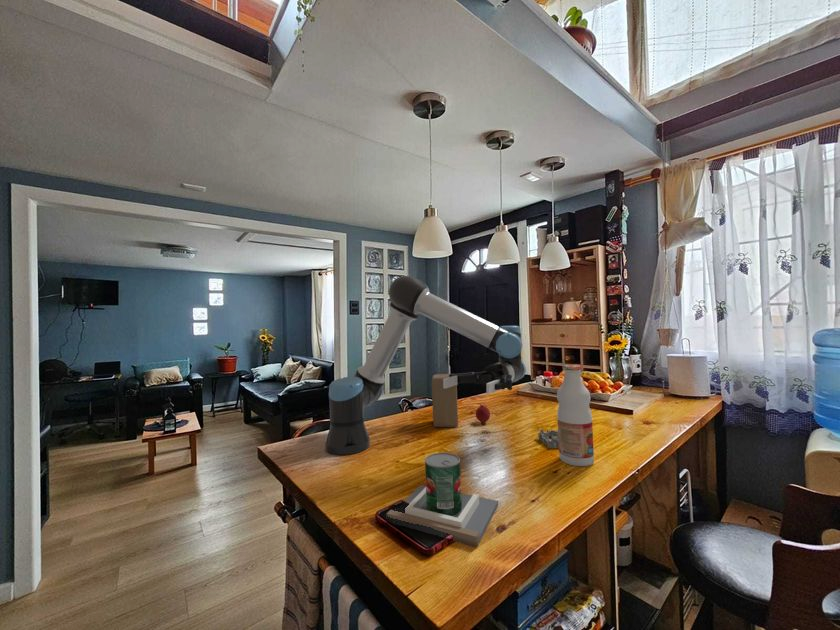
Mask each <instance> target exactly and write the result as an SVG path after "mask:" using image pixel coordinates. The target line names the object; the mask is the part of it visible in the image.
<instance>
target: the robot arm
mask: <svg viewBox="0 0 840 630" xmlns="http://www.w3.org/2000/svg"><path fill="white" fill-rule="evenodd" d="M388 296H389V300H390V303H389V309H390V312H389V315H388V317H387V319H386V321H385V323H384V325H383V327H382V328H381V331H380V333H379V334H378V337H377V338H376V340H375V342H374V344H373V346H372V348H371V350H370V353H369V354H368V357H367V359H366V360H365V362H364V365H362V366H359V367H358V368H357V370H356V372H355V374H354V376H345V377H342V378H337V379H335V380H333V381H331V383H330V384H329V386H328V400H329V422H330V423H329V430H328V434H327V437H326V440H325V451H326V452H327V453H328V454H331V455H335V456H337V455H338V456H339V455H340V456H346V455H352V454H353V455H354V454H357V453H361V452H364V451H365V450H367V449H368V448H369V447H370V446H371V440H370V439H371V438H370V436H369V434H368V430H367V428H366V425H365V414H364V413H365V409H366V408H367V407H370V406H372V405H374V404H375V403H376V402H378V400H379V399H380V398H381V397H382V393H383V390H384V388H383V387H384V384H385V382H386V378H385V374H386V372H387V370H388V367H389V366H390V364H391V362H392V361H393V358H394V356H395V354H396V352H397V350H398V348H399V346H400V345H401V342H402V341H403V339H404V337H405V335H406V333H407V331H408V329H409V327H410V325H411V323H412V322H415V321H417V320H418V318H419V316H420V315H423V316H424V317H426V318H429V320H432V321H434V322H436V323H438V324H441V325H442V326H444V327H446V328H448V329H451V330H452V331H454V332H456V333H458V334H460V335H461V336H464V337H466V338H468V339H470V340H472V341H473V342H475V343H477V344H480V345H482V346H484V347H485V348H488V349H490V350H491V351H493V352H496V353H497V354H498V362H496V363H493V364H489V365H488V366H486V367H485V369H483V371H482V370H481V371H479V372H478V371H477V372H475V371H471V372H462V373H448V374H449V377H448V378H444V379H443V388H445V389H446V388H449V387H452V386H456V385H457V386H458V385H459V384H475V385H485V386H486V390H485V391H486V394H487V395H491V394H493V393H496V392H498V391H500V390H502V391H503V390H505V389H507V390H508V391H512V390H513V383H515V382H518V381H520V380H522V378H524V376H525V375H526V371H527V369H526V368H527V367H526V365H525V363H524V362H523V361H522V360H523V359H522V349H523V342H522V333H521V331H522V330H521V327H520V326H519V325H501V326H498V325H497V324H495V323H493V322H491V321H488V320H486V319H484V318H482V317H480V316H478V315H475V314H474V313H472V312H469V311H468V310H466V309H464V308H462V307H459V306H458V305H456V304H454V303H451V302H449V301H448V300H445V299H443V298H441V297H439V296H437V295H435V294H433V293H431V292H430V288H429V287H428V286H427V284H426V283H425V282H424V281H422V280H421V279H418V278H414V277H412V276H410V275H402V276H398V277H396V278H395V279H394V280H392V282H391V283H390V285H389V289H388Z"/></svg>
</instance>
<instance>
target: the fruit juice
mask: <svg viewBox="0 0 840 630" xmlns="http://www.w3.org/2000/svg"><path fill="white" fill-rule="evenodd" d="M562 370H563V372H564V377H563V381H562V384H561V385H560V386H559V388H557V393H556V399H557V401H558V407H557V412H556V413H557V416H556V417H557V418H556V420H557V430H558V440H559V447H558V454H559V455H558V456H559V459H560V461H562V462H563V463H565V464H567V465H570V466H573V467H588V466H591V465H593V464H594V462H595V461H594V460H595V453H594V451H595V450H594V449H595V448H594V432H593V415H592V413H593V412H592V411H591V408H590V403H591V393H590V390H589V389H588V388H587V387H586V386H585V384H584V383H583V380H582V376H581V372H582V366H581V365H579V364H564V365H563V367H562Z"/></svg>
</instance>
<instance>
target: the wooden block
mask: <svg viewBox="0 0 840 630" xmlns="http://www.w3.org/2000/svg"><path fill="white" fill-rule="evenodd" d="M449 374H450V373H437V374H436V373H435V374H433V375H432V378H431V398H432V399H431V401H432V403H431V404H432V424H433V427H435V428H457V427H458V426H459V412H458V411H459V410H458V388H457V386H458V384H457V385H456V386H452V387H449V388H446V389H445V388H443V379H444V378H448V377H449Z"/></svg>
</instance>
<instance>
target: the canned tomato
mask: <svg viewBox="0 0 840 630" xmlns="http://www.w3.org/2000/svg"><path fill="white" fill-rule="evenodd" d="M424 466H425V467H424V471H425V486H426V501H427V510H428V511H432V512H436V513H440V514H444V515H448V516H453V517H456V516H458V515H459V514H460V513H461V511H462V499H461V493H462V477H461V472H462V471H461V458H460V457H459V456H458V455H457V454H454V453H449V452H436V453H432V454H429V455H427V456H426V457H425V458H424Z"/></svg>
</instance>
